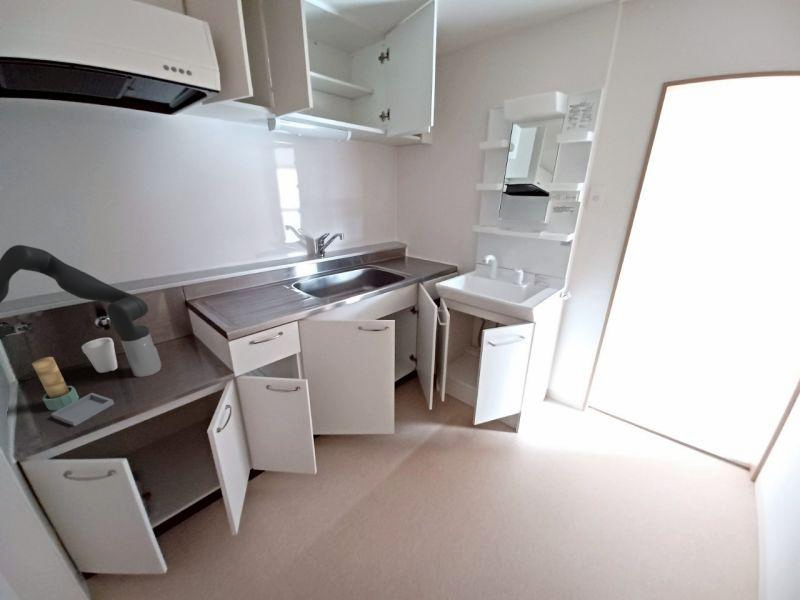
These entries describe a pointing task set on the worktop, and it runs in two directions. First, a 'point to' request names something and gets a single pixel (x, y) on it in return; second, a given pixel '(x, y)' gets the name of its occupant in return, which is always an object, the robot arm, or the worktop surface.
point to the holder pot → (61, 399)
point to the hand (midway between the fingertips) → (14, 336)
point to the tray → (82, 409)
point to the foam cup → (101, 354)
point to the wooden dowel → (50, 377)
